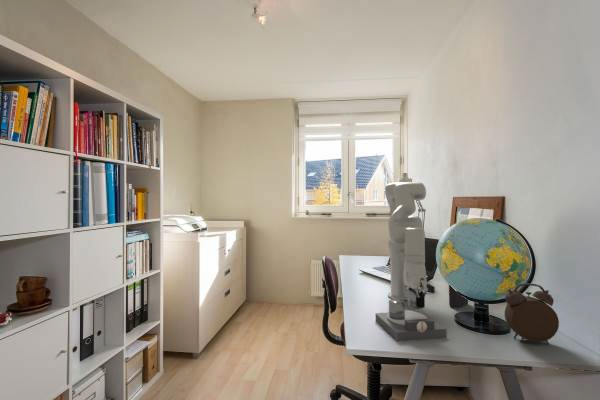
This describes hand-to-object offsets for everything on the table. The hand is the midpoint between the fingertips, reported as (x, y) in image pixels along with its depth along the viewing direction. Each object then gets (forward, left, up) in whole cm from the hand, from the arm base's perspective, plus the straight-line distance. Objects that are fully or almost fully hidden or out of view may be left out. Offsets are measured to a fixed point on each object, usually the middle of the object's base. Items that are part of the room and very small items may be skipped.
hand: (415, 304), depth 116 cm
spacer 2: (0, 0, -1) cm, 1 cm away
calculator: (-20, +33, -9) cm, 40 cm away
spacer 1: (0, -8, -5) cm, 9 cm away
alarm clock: (+18, +32, -9) cm, 38 cm away
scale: (+1, -4, -9) cm, 10 cm away
